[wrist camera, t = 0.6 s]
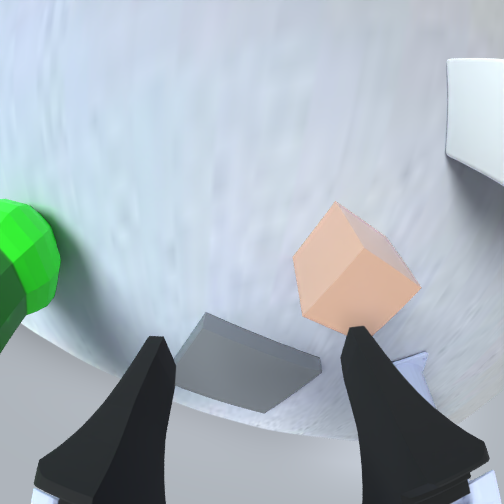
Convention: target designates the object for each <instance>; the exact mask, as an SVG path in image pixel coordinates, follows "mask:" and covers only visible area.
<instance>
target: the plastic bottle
mask: <svg viewBox="0 0 504 504" xmlns="http://www.w3.org/2000/svg"><path fill="white" fill-rule="evenodd" d="M56 244H57V242H56V239H55V236H54V234H53V231H52V228H51V225H50V224H49V223H48V222H47V221H46V220H45V219H44V217H43V216H42V215H41V214H40V213H39V212H36V211H35V210H34V209H33V208H32V207H31V206H29V205H27V204H23V203H19V202H15V201H11V200H7V199H0V353H1V351H2V350H3V348H4V347H5V345H6V344H7V342H8V341H9V339H10V338H11V336H12V335H13V333H14V332H15V330H16V329H17V327H18V326H19V324H20V323H21V322H22V320H23V319H24V317H25V316H26V315H28V314H31V313H34V312H36V311H38V310H40V309H42V308H44V307H46V306H48V304H49V303H50V302H51V300H52V299H53V298H54V296H55V292H56V287H57V282H58V275H59V268H60V262H61V260H60V254H59V251H58V248H57V245H56Z"/></svg>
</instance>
